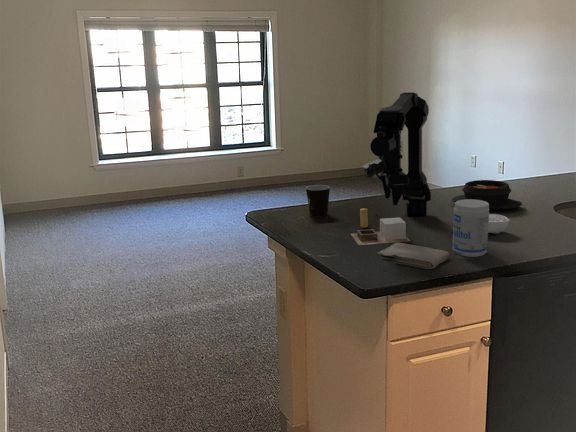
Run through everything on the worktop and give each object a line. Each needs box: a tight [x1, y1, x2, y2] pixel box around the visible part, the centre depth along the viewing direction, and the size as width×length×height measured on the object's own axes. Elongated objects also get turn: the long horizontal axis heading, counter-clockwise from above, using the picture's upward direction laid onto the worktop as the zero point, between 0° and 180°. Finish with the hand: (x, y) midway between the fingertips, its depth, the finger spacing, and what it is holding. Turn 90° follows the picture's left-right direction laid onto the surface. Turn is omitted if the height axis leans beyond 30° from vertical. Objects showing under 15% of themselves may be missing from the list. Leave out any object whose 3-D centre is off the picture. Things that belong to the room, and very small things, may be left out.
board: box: [350, 228, 411, 246], centre depth 196 cm, size 16×12×5 cm
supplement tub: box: [451, 199, 490, 258], centre depth 180 cm, size 10×10×15 cm
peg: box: [359, 207, 369, 229], centre depth 208 cm, size 2×2×7 cm
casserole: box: [451, 179, 523, 211], centre depth 230 cm, size 25×19×8 cm
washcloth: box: [377, 242, 451, 270], centre depth 180 cm, size 12×18×3 cm, turn 53°
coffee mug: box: [305, 184, 331, 218], centre depth 231 cm, size 12×9×10 cm
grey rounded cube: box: [379, 217, 407, 240], centre depth 196 cm, size 6×6×5 cm
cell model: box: [488, 213, 511, 235], centre depth 199 cm, size 10×12×7 cm
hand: (391, 201), depth 194 cm, fingers open, 9 cm apart
